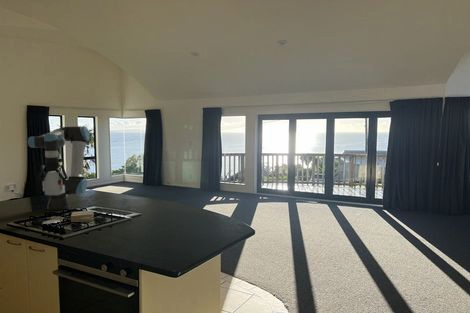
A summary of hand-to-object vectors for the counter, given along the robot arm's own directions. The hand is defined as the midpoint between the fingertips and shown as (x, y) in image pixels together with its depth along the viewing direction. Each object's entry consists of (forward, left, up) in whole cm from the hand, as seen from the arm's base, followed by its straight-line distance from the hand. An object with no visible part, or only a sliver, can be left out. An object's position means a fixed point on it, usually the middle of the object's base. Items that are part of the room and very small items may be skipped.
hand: (53, 190), depth 224 cm
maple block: (+7, +18, -20) cm, 28 cm away
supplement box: (-2, +1, -3) cm, 4 cm away
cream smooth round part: (+10, 0, -20) cm, 22 cm away
